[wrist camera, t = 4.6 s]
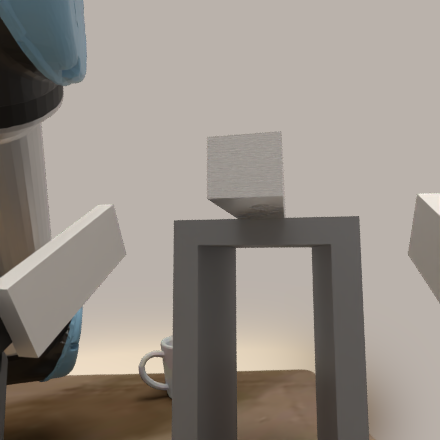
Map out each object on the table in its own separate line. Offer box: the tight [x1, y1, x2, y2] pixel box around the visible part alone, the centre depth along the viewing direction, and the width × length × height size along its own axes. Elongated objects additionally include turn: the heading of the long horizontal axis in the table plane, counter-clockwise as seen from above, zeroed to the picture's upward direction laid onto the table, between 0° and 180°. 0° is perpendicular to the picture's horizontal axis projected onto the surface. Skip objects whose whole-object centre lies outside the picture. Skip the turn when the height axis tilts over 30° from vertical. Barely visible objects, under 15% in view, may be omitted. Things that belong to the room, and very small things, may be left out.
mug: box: [139, 336, 173, 398], centre depth 63 cm, size 10×15×10 cm
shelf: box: [172, 216, 369, 440], centre depth 32 cm, size 19×14×30 cm
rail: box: [207, 132, 285, 219], centre depth 28 cm, size 26×4×3 cm, turn 168°
